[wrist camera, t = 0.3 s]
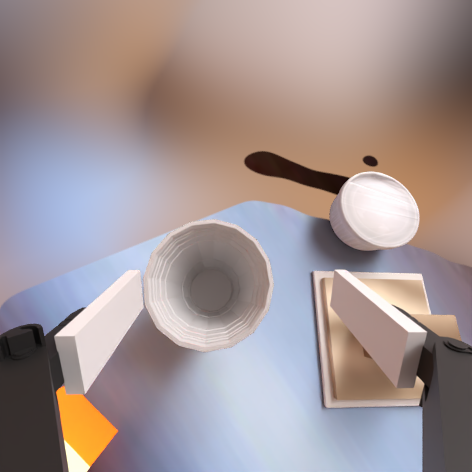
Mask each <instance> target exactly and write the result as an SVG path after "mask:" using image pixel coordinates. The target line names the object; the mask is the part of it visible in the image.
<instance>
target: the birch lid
mask: <svg viewBox="0 0 472 472" xmlns="http://www.w3.org/2000/svg"><path fill="white" fill-rule="evenodd" d="M357 279H358V280H360V281H361V282H362V283H363V284H365V285H366V286H367V287H369V288H370V289H371V290H373V291H374V292H375V293H377V294H378V295H379V296H381V297H382V298H383V299H384V300H386V301H387V302H388V303H390V304H391V305H395V306H397V307H399V308H401V309H403V310H405V311H406V312H407V313H409V314H410V315H411V316H412V317H414V318H415V319H417V320H418V322H421V323H422V324H423V325H425V326H426V327H428V328H429V329H430V330H432V331H433V332H434V333H436V334H437V335H438V336H442V337H450V338H454V339H457V340H459V341H461V337H460V333H459V330H458V326H457V322H456V318H455V315H430V314H429V310H428V306H427V301H426V297H425V293H424V289H423V284H422V280H399V279H361V278H357ZM322 285H323V294H324V304H325V314H326V324H327V334H328V344H329V354H330V363H331V373H332V383H333V393H334V398H335V399H337V400H370V399H418V398H421V395H422V391H423V387H424V383H423V382H422V380H421V379H420V378H419V377H418V376H417V377H416V381H415V385H414V388H396V387H395V386H394V384H393V383H392V382H391V381H390V380H389V378H388V377H387V376H386V375H385V373H384V372H383V371H382V370H381V368H380V367H379V366H378V365H377V363H376V362H375V361H374V360H373V358H372V357H371V356H370V355H369V354H368V352H367V351H366V350H365V349H364V347H363V346H362V345H361V344H360V342H359V341H358V340H357V339H356V337H355V336H354V335H353V334H352V332H351V331H350V330H349V329H348V328H347V326H346V325H345V324H344V323H343V321H342V320H341V319H340V318H339V316H338V315H337V314H336V313H335V311H334V310H333V309H332V308H331V307H330V302H331V294H332V286H333V278H322Z"/></svg>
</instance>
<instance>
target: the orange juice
mask: <svg viewBox="0 0 472 472" xmlns="http://www.w3.org/2000/svg"><path fill="white" fill-rule="evenodd" d="M56 393H57V397H58V403H59V410H60V416H61V423H62V429H63V436H64V442H65V449H66V455H67V462H68V468H69V472H87V471H88V469H89V468H90V466H91V465H92V464H93V462H94V461H95V460H96V458H97V457H98V456H99V455H100V453H101V452H102V451H103V450H104V448H105V447H106V446H107V444H108V443H109V442H110V441H111V439H112V438H113V437H114V436H115V434H116V433H117V432H118V431H117V430H116V429H115V428H114V427H113V426H112V424H111V423H110V422H109V421H108V420H107V419H106V418H105V417H104V416H103V415H102V414H101V413H100V412H99V411H98V410H97V409H96V408H95V407H94V406H93V405H92V404H91V403H90V402H89V401H88V400H87V399H86V398H85V397H84V396H83V395H82V394H76V395H66V392H65V387H64V386H63V387H62V388H60V389H58V390H57V392H56Z"/></svg>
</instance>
